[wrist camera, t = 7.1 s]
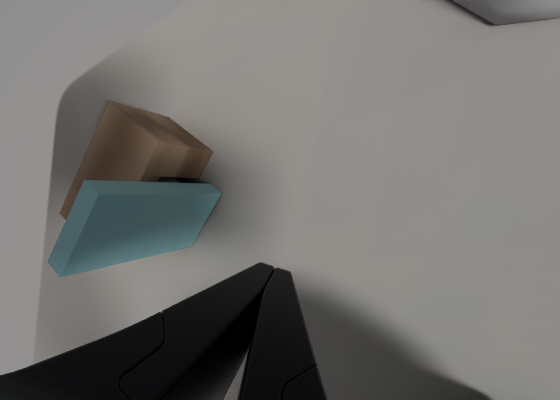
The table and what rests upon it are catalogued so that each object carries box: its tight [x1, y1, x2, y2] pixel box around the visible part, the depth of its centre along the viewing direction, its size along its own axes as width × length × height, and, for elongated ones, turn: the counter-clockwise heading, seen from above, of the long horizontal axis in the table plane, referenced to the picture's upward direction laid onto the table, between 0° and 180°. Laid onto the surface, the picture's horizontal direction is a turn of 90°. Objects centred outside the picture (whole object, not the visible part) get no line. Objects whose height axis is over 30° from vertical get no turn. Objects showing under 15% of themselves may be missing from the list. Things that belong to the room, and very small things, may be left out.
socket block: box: [60, 101, 213, 220], centre depth 25 cm, size 5×9×6 cm, turn 146°
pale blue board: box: [48, 176, 222, 277], centre depth 22 cm, size 6×5×10 cm
